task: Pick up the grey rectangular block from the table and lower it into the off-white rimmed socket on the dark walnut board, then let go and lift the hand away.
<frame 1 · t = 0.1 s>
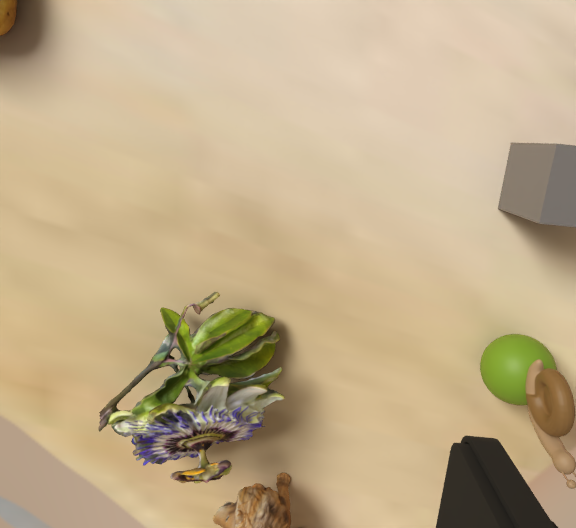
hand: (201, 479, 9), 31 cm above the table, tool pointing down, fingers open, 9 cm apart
passion flower: (205, 361, 43), on the table
snail figurine: (502, 359, 42), on the table
lion figurine: (272, 508, 46), on the table
grey rectangular block: (543, 180, 38), on the table
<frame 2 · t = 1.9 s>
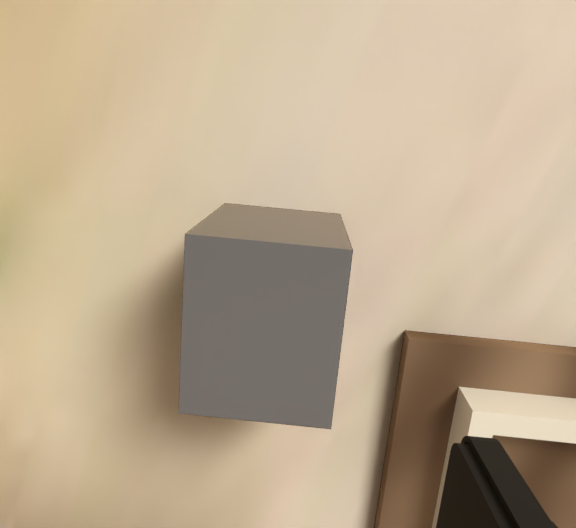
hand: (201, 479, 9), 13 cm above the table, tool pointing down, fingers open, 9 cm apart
header board: (524, 496, 25), on the table
grey rectangular block: (276, 275, 22), on the table
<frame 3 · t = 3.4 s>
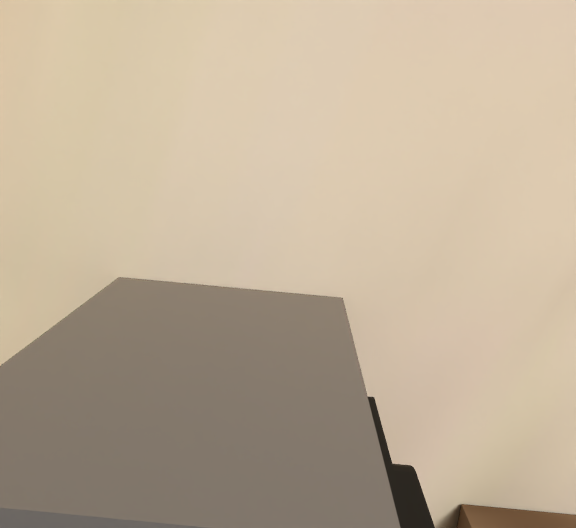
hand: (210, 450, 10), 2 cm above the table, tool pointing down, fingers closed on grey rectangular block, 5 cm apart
grey rectangular block: (223, 408, 12), on the table, touching gripper
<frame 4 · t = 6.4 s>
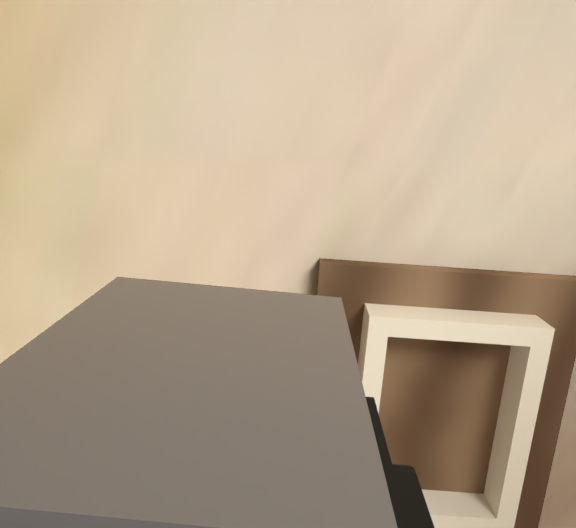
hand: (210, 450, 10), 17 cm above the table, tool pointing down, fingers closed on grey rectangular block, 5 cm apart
header board: (430, 402, 29), on the table
grey rectangular block: (221, 408, 12), point 15 cm above the table, touching gripper
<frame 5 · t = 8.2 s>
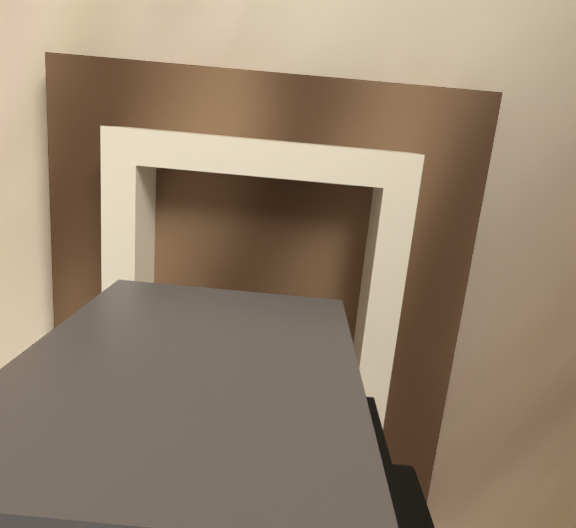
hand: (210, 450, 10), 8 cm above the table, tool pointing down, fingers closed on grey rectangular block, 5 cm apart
header board: (256, 308, 18), on the table
grey rectangular block: (222, 410, 12), point 7 cm above the table, touching gripper
when the fingers open (4 cm above the table, at t = 9.6 s): grey rectangular block stays where it is, resting on header board.
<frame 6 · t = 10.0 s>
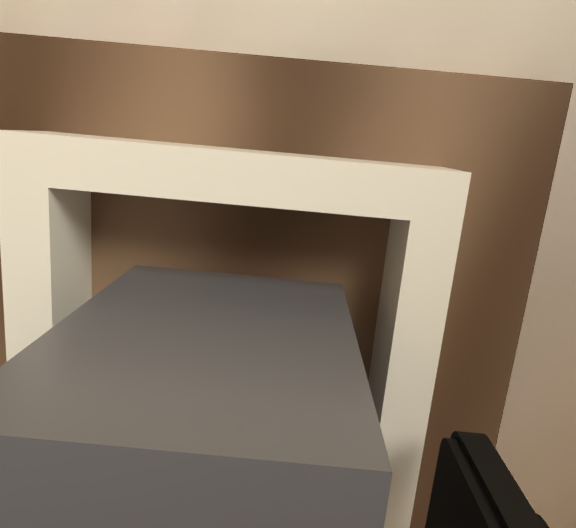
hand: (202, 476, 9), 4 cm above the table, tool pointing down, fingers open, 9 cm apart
header board: (233, 371, 14), on the table
grey rectangular block: (231, 387, 13), point 1 cm above the table, touching header board
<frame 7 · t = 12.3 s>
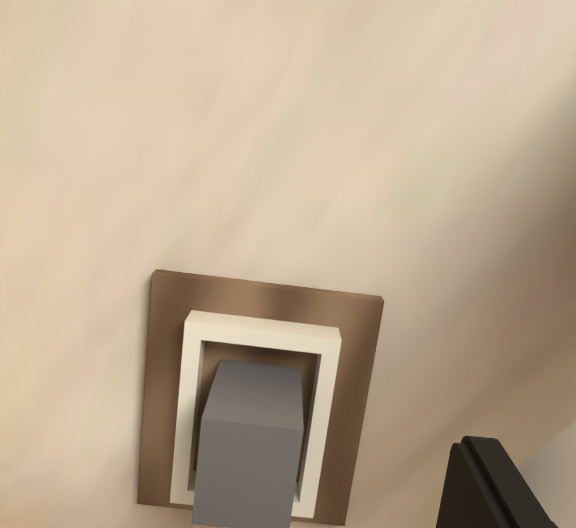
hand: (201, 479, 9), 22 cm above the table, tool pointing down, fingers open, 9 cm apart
header board: (255, 399, 33), on the table
grey rectangular block: (255, 407, 32), point 1 cm above the table, touching header board
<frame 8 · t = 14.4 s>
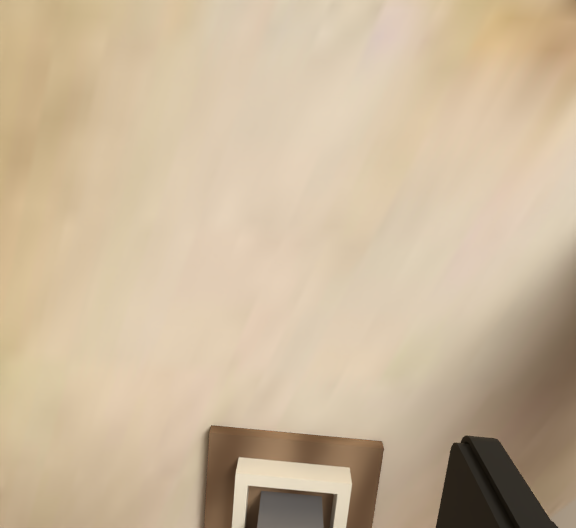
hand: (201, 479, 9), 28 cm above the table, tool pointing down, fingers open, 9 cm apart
header board: (288, 515, 43), on the table
grey rectangular block: (288, 524, 42), point 1 cm above the table, touching header board
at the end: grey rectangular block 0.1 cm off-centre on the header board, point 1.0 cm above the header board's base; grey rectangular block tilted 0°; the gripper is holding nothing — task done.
